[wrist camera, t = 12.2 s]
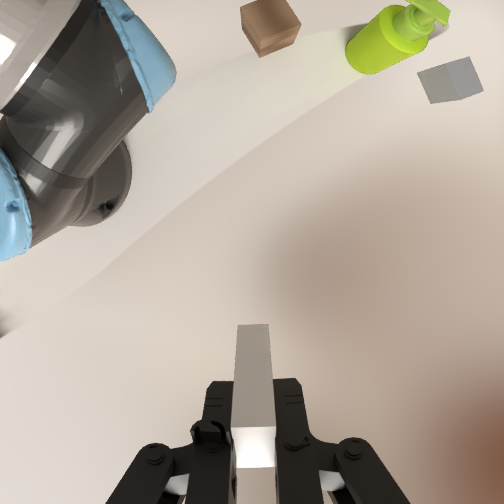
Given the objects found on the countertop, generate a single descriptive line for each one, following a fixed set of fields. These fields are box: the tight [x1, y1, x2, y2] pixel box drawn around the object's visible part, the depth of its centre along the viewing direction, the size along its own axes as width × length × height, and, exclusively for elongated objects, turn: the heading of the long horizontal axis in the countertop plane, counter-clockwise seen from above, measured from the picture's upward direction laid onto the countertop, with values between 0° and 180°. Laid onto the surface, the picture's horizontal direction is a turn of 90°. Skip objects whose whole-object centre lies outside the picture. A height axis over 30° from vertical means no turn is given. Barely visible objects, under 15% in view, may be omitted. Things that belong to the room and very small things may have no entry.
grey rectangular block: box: [417, 57, 483, 104], centre depth 33 cm, size 5×5×8 cm
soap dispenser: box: [346, 0, 450, 74], centre depth 26 cm, size 6×7×20 cm
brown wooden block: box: [240, 0, 301, 58], centre depth 32 cm, size 5×5×8 cm
